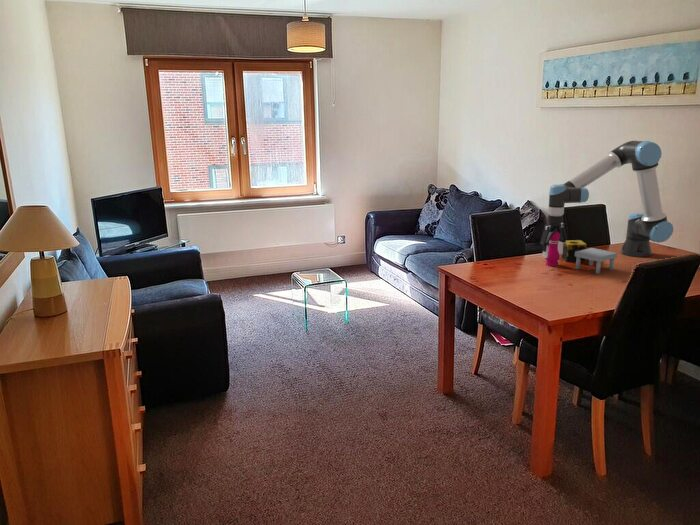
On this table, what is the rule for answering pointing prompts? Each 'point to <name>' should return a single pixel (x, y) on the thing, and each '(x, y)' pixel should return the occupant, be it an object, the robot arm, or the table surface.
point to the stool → (595, 257)
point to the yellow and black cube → (572, 250)
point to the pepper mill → (553, 250)
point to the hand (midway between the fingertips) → (552, 255)
